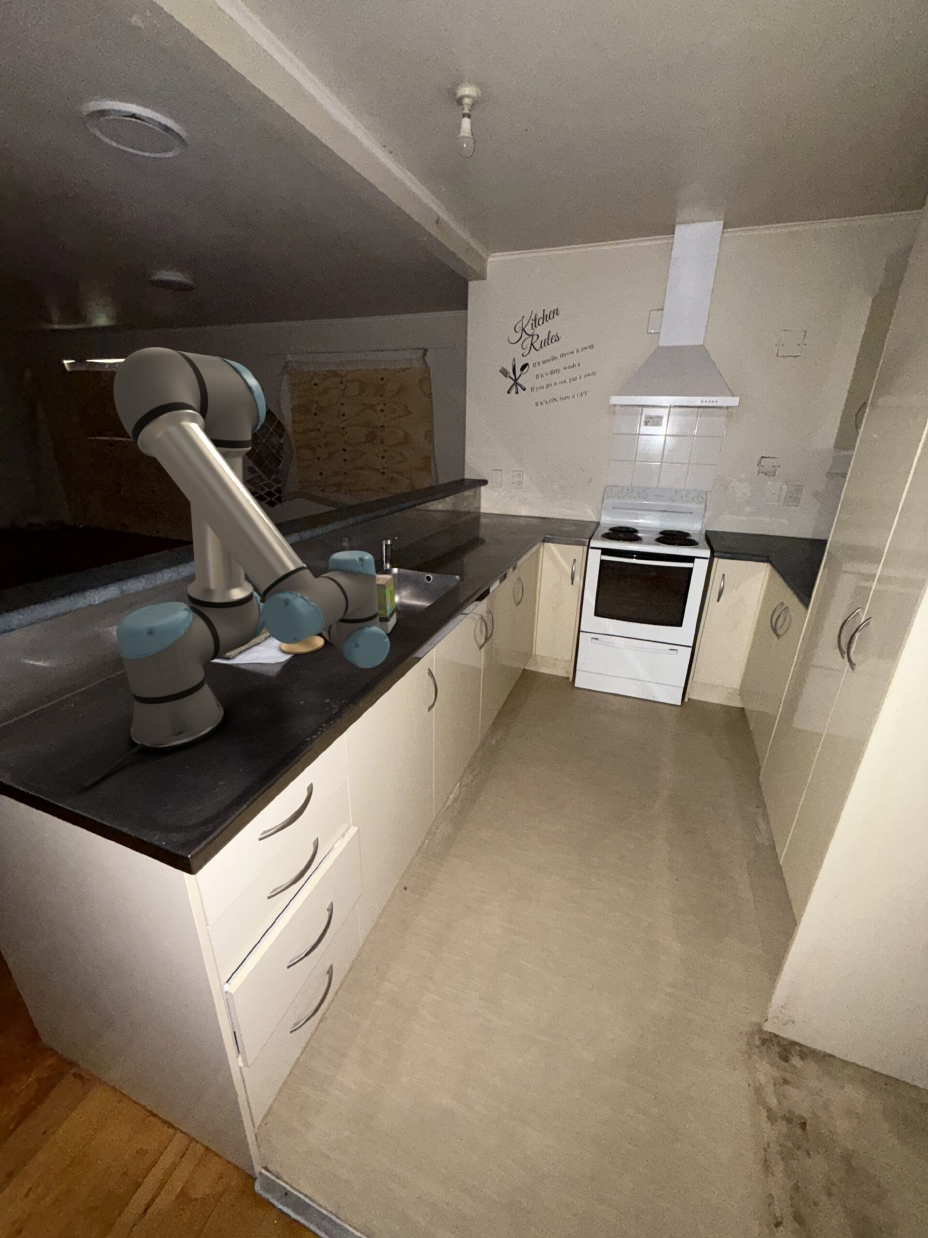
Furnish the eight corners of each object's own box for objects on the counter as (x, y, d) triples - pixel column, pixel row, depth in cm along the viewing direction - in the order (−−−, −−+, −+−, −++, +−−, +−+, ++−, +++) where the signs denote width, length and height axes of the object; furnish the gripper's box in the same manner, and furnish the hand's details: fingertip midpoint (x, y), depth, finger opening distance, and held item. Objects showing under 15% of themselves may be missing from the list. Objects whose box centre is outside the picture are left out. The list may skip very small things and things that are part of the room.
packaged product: (245, 613, 137) (275, 616, 134) (248, 629, 139) (277, 633, 136) (194, 637, 121) (227, 641, 118) (198, 654, 123) (230, 659, 120)
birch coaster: (309, 656, 121) (309, 654, 121) (271, 651, 124) (271, 649, 124) (332, 639, 131) (331, 637, 131) (296, 635, 134) (296, 633, 134)
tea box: (397, 621, 143) (394, 573, 138) (388, 635, 134) (385, 583, 129) (347, 620, 145) (343, 572, 140) (336, 633, 136) (330, 582, 130)
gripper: (294, 652, 90) (263, 616, 108) (382, 631, 100) (341, 601, 118) (289, 614, 87) (258, 583, 105) (380, 596, 97) (338, 571, 115)
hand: (302, 593), depth 111 cm, fingers closed on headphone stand, 5 cm apart
